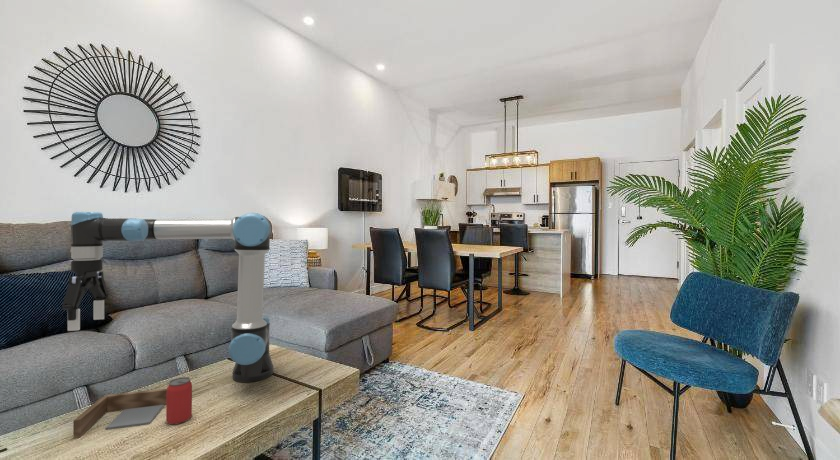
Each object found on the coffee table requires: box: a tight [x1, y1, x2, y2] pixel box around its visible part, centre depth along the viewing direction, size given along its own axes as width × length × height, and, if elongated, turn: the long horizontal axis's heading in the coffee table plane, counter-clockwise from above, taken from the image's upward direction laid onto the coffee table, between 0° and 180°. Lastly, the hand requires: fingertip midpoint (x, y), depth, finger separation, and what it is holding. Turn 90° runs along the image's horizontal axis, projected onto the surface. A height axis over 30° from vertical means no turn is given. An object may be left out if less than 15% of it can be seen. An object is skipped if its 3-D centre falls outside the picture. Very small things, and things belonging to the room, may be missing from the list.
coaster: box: [105, 405, 165, 431], centre depth 111 cm, size 11×11×1 cm
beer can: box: [165, 376, 193, 425], centre depth 110 cm, size 7×7×12 cm
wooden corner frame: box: [72, 387, 167, 439], centre depth 110 cm, size 21×16×5 cm
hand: (87, 324), depth 116 cm, fingers open, 13 cm apart
